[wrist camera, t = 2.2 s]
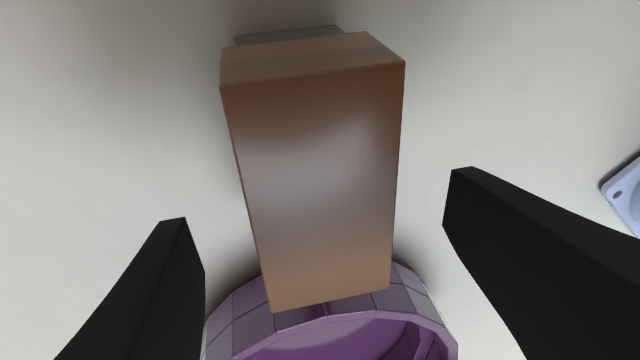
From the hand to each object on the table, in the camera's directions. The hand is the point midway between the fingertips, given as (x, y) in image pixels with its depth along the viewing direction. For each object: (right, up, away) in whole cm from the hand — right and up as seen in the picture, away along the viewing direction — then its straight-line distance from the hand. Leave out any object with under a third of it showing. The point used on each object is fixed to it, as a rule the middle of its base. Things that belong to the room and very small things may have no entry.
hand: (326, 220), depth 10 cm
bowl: (0, -8, +13) cm, 15 cm away
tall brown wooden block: (-1, +3, +5) cm, 6 cm away
